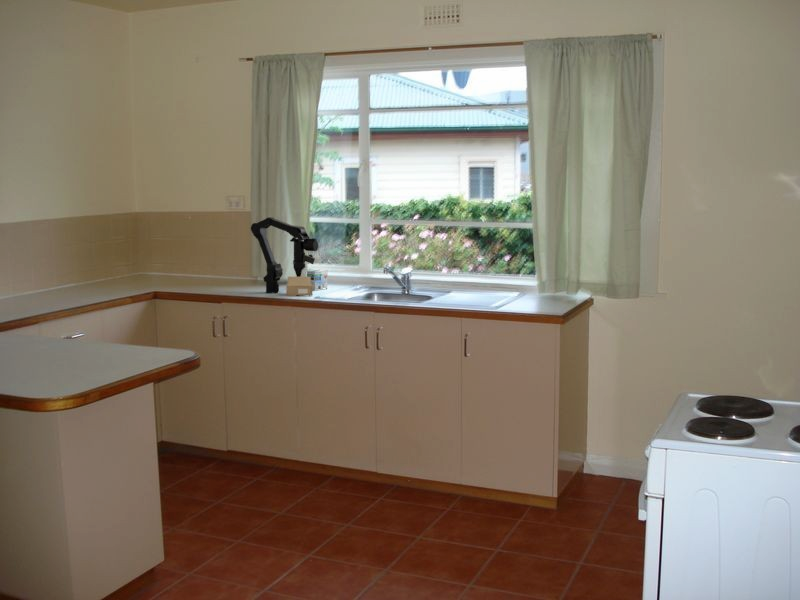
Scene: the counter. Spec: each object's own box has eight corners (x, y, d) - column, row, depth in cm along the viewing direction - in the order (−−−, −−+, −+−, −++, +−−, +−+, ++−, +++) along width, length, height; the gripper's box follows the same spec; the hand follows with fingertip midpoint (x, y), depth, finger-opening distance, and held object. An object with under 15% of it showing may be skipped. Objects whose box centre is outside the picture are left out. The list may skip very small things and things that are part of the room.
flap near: (287, 285, 462) (287, 285, 462) (287, 276, 463) (287, 276, 463) (310, 286, 464) (310, 285, 463) (310, 276, 465) (310, 276, 464)
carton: (285, 296, 463) (285, 286, 462) (285, 293, 473) (285, 283, 473) (312, 296, 465) (312, 286, 464) (311, 293, 475) (311, 283, 474)
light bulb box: (315, 290, 485) (315, 271, 484) (306, 289, 489) (306, 270, 488) (327, 289, 494) (327, 270, 492) (319, 287, 498) (319, 269, 496)
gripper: (314, 252, 457) (314, 281, 460) (313, 248, 476) (313, 277, 478) (293, 252, 456) (293, 281, 458) (292, 248, 474) (293, 277, 476)
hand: (299, 279), depth 468 cm, fingers closed
